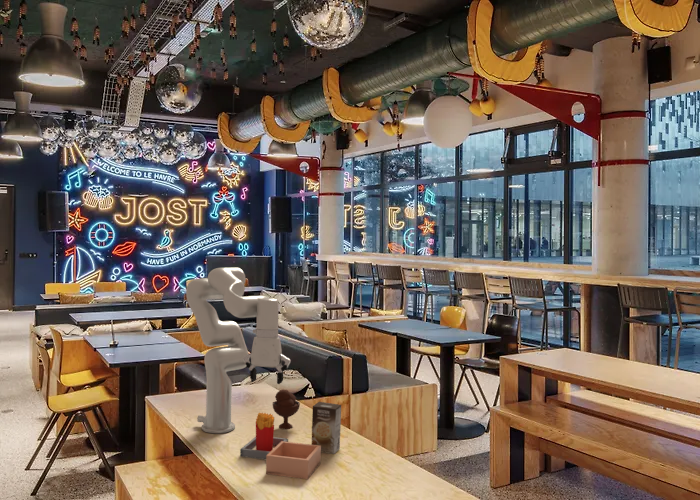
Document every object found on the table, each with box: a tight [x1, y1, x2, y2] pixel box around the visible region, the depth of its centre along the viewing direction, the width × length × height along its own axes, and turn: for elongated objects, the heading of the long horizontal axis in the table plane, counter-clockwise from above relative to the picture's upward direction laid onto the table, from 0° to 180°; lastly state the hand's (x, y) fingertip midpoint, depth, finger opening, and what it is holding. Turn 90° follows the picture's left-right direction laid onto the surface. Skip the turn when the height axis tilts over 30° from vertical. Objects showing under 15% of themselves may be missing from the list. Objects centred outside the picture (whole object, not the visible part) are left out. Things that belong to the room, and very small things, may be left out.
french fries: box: [255, 412, 275, 452], centre depth 221 cm, size 9×4×13 cm, turn 41°
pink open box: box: [265, 441, 322, 480], centre depth 206 cm, size 14×14×6 cm
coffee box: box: [311, 401, 342, 455], centre depth 224 cm, size 9×6×16 cm
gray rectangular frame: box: [239, 436, 289, 460], centre depth 221 cm, size 12×15×2 cm
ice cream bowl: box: [272, 389, 301, 430], centre depth 247 cm, size 11×11×15 cm
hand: (266, 382), depth 220 cm, fingers open, 9 cm apart
